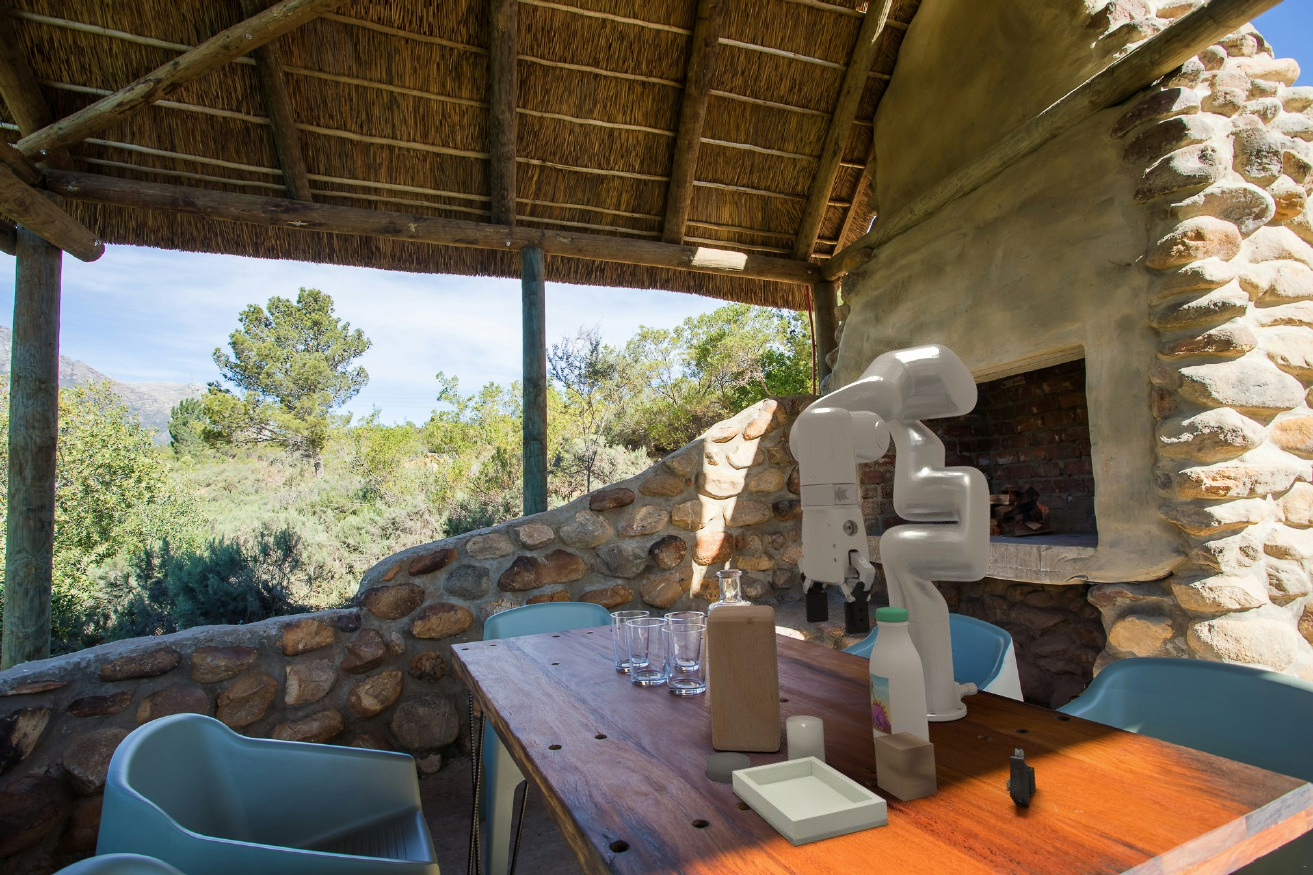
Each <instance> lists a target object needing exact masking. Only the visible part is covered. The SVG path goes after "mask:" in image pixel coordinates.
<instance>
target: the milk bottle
mask: <svg viewBox="0 0 1313 875" xmlns="http://www.w3.org/2000/svg"><path fill="white" fill-rule="evenodd" d="M875 619H876V624H877V625H878V626H877V629H878V631H877V636H876V639H875V643H874V645H873V648H872V650H871V654H870V657H869V663H868V664H869V670H868V671H869V691H870V704H871V705H870V707H871V708H870V709H871V718H872V719H871V720H872V721H871V722H872V733H873V734H872V735H873V742H874V744H875V739H874V737H880V736H885V735H891V734H896V733H902V732H908V733H910V734H912V735H915V736H917V737H919V738H921V739H924V740H926V741H928V742H930V734H929V721H928V719H927V706H926V695H925V683H924V674H923V667H922V663H921V660H920V657H919V654H918V652H917V650H916V648H915V647H914V645H913V643H912V641H911V638H910V636H909V633H908V629H907V625H908V624H909V623H908V611H907V609H904V608H899V607H890V606H884V607H878V608H875Z"/></svg>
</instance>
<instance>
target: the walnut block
mask: <svg viewBox="0 0 1313 875" xmlns="http://www.w3.org/2000/svg"><path fill="white" fill-rule="evenodd" d="M874 739H875V743H874V749H875V750H874V751H875V753H874V754H875V766H876V779H877V780H876V782H877V787H879V788H880V789H882V790H884V791H886V792H887V793H889V794H890V795H892V796H893V797H896V798H898V799H899V800H900V801H903V802H908V801H913V800H918V799H921V798H926V797H931V796H935V795H938V787H937V784H938V782H937V772H936V760H935V745H934V743H932V742H930V741H929V742H928V741H926V740H924V739H921V738H919V737H917V736H915V735H912V734H910V733H908V732H902V733H896V734H891V735H885V736H880V737H874V736H873V740H874Z"/></svg>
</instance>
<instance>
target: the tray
mask: <svg viewBox="0 0 1313 875" xmlns="http://www.w3.org/2000/svg"><path fill="white" fill-rule="evenodd" d="M732 776H733V783H732V790H733V791H732V792H733V793H734V794H735V795H736V796H738V798H740V799H741V801H743V802H744V803H745V804H746V805H748V806H749V808H750V809H752V810H753V811H754V812H755V813H757V814H758V815H759V816H760V817H761V818H762V819H764V821H766V822H767V823H768V824H769V825H770V826H771V827H773V829H775V830H776V831H777V832H778V833H779V834H781V836H783V838H785V839H786V840H787V841H788V842H789V843H790V844H792V845H793V846H794V847H797V846H800V845H805V844H809V843H814V842H818V841H822V840H827V839H830V838H835V837H839V836H843V835H847V834H852V833H856V832H861V831H864V830H865V831H866V830H869V829H873V828H878V827H882V826H887V825H888V824H889V821H888V820H889V819H888V807H887V800H886V799H884V798H883V797H881V796H879V795H877V794H876V793H874V792H872V791H871V790H870V789H868V788H866V787H864V786H863V785H861V784H859V783H858V782H856V781H855V780H853V779H852V778H849V777H848V776H846V775H845V774H843V773H841V772H840V771H838V770H836V769H835V768H833V767H832V766H830V765H828V764H827V763H826V762H825V763H824V762H822V761H820V760H819V759H817V758H815V757H814V756H812V757H807V758H801V759H796V760H791V761H788V760H786V761H785V760H784V761H781V762H776V763H775V762H774V763H771V764H765V765H764V764H763V765H758V766H754V767H751V768H748V769H742V770H737V771H732Z"/></svg>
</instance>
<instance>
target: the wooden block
mask: <svg viewBox="0 0 1313 875" xmlns="http://www.w3.org/2000/svg"><path fill="white" fill-rule="evenodd" d="M706 629H707V630H706V631H707V634H706V636H707V650H708V654H707V656H708V673H709V674H708V676H709V696H710V698H709V700H710V714H711V716H710V717H711V718H710V719H711V721H710V722H711V739H712V740H711V741H712V745H713V747H714V749H715V750H718V751H727V752H728V751H729V752H730V751H732V752H759V753H760V752H761V753H763V752H764V753H765V752H766V753H775V752H778V751H779V749H780V746H781V736H782V734H781V733H782V720H781V717H782V716H781V700H780V684H779V683H780V682H779V680H780V679H779V666H778V663H779V662H778V651H777V650H778V647H777V631H776V630H777V629H776V613H775V609H774V607H773V606H770V605H765V604H764V605H761V604H760V605H718V606H715V607H714V608H713V609H712V611H711V612H710V613H709V615H708V617H707V620H706Z"/></svg>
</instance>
